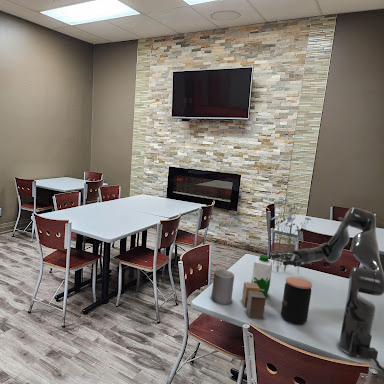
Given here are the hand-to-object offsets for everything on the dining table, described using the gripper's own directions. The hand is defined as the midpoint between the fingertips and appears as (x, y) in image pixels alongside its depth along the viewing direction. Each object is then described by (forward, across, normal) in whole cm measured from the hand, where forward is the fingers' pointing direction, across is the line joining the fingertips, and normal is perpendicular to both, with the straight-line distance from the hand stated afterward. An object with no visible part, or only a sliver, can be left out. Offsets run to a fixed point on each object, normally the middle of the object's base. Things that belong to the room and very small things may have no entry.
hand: (277, 260), depth 173 cm
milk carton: (+9, -1, +18) cm, 21 cm away
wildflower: (-28, -28, +23) cm, 45 cm away
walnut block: (+25, +18, +16) cm, 35 cm away
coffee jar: (+9, +24, +18) cm, 31 cm away
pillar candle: (+33, +2, +16) cm, 36 cm away
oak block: (+21, +8, +17) cm, 28 cm away
